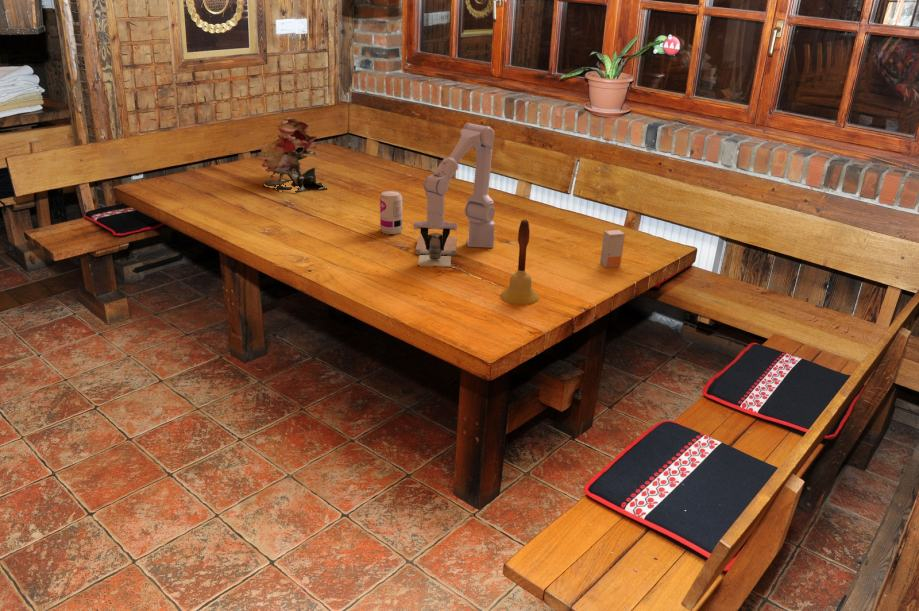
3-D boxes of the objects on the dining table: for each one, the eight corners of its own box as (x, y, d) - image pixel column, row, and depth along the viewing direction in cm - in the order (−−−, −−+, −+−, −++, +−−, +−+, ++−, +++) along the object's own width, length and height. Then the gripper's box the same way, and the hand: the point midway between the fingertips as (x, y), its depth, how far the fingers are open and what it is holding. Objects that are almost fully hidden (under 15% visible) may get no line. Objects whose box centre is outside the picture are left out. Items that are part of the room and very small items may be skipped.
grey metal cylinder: (442, 255, 267) (442, 233, 264) (441, 260, 263) (442, 237, 260) (428, 254, 267) (428, 232, 264) (427, 259, 263) (427, 237, 260)
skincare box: (605, 267, 265) (609, 234, 260) (599, 263, 269) (603, 230, 264) (621, 266, 267) (625, 233, 262) (615, 261, 271) (619, 229, 266)
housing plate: (456, 242, 284) (456, 237, 283) (455, 256, 271) (455, 250, 270) (418, 240, 284) (418, 235, 283) (415, 254, 271) (415, 249, 271)
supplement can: (382, 235, 288) (382, 197, 281) (378, 228, 295) (378, 190, 289) (404, 234, 290) (404, 196, 283) (399, 227, 297) (399, 189, 291)
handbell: (534, 288, 248) (539, 213, 237) (543, 304, 237) (550, 227, 226) (496, 289, 246) (500, 214, 235) (504, 306, 235) (508, 228, 224)
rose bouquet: (301, 174, 361) (297, 109, 348) (334, 189, 341) (331, 120, 328) (250, 182, 346) (244, 115, 333) (281, 198, 326) (276, 127, 313)
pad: (451, 257, 270) (451, 256, 270) (450, 267, 262) (450, 265, 262) (419, 256, 270) (419, 254, 270) (417, 265, 262) (417, 264, 262)
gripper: (413, 214, 255) (412, 252, 260) (456, 215, 255) (455, 254, 260) (414, 207, 261) (414, 245, 267) (457, 209, 261) (456, 246, 267)
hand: (434, 249), depth 264 cm, fingers closed on grey metal cylinder, 5 cm apart
